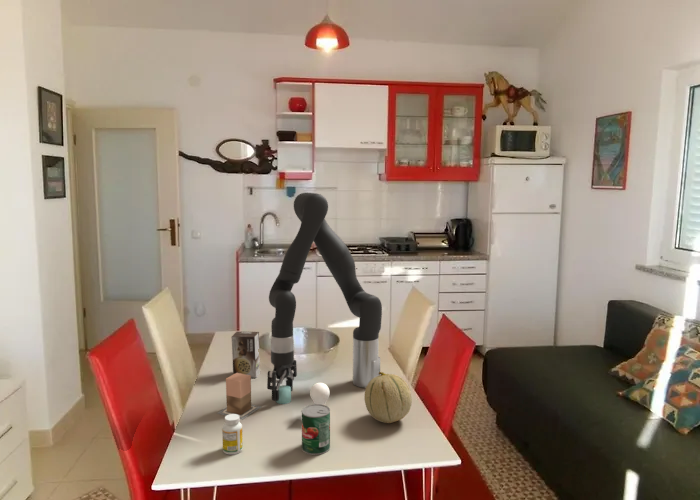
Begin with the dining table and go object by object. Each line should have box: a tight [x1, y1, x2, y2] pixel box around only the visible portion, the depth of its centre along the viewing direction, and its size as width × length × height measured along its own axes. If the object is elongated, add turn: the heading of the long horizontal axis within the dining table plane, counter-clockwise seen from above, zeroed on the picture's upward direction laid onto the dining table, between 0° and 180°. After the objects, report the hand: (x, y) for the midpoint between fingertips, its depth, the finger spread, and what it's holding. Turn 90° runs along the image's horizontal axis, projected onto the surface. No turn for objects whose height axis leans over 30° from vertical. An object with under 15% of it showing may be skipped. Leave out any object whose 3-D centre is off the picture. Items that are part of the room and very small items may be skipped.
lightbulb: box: [309, 382, 330, 406], centre depth 163 cm, size 6×6×11 cm
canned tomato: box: [300, 403, 331, 456], centre depth 144 cm, size 8×8×11 cm
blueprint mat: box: [216, 404, 261, 420], centre depth 167 cm, size 10×10×1 cm
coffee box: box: [231, 330, 261, 379], centre depth 197 cm, size 9×6×16 cm
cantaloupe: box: [364, 371, 413, 424], centre depth 160 cm, size 15×15×15 cm
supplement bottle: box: [221, 414, 244, 456], centre depth 143 cm, size 5×5×10 cm
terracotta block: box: [225, 373, 252, 398], centre depth 166 cm, size 6×6×6 cm
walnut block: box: [225, 391, 252, 415], centre depth 167 cm, size 6×6×6 cm
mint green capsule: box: [275, 384, 292, 405], centre depth 174 cm, size 5×5×5 cm
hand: (282, 395), depth 173 cm, fingers open, 8 cm apart
